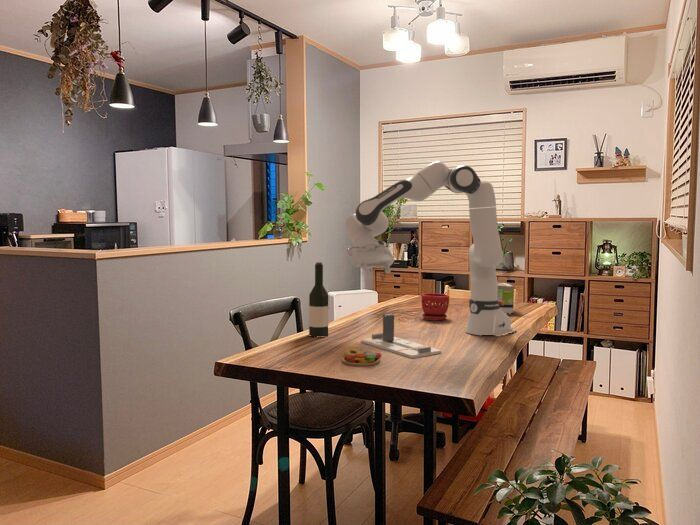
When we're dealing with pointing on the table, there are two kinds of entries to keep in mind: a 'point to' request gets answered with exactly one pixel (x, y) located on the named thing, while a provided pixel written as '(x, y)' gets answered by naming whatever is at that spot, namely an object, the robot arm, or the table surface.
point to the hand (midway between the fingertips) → (379, 273)
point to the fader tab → (388, 327)
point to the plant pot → (435, 306)
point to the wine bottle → (318, 305)
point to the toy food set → (360, 357)
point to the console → (401, 346)
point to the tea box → (506, 297)
